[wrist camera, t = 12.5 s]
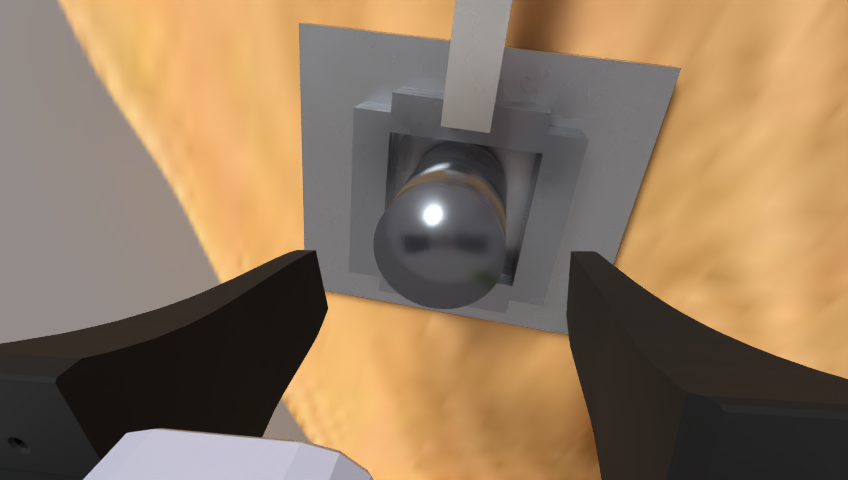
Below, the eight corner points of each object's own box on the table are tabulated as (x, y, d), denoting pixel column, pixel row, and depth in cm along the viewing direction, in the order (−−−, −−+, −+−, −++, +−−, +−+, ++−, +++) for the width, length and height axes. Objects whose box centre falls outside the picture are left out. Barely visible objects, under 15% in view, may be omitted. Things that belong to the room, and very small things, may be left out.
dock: (671, 66, 16) (702, 72, 13) (583, 325, 21) (594, 364, 19) (309, 23, 17) (277, 22, 15) (313, 276, 23) (289, 307, 20)
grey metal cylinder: (503, 137, 17) (501, 183, 12) (509, 230, 19) (509, 308, 13) (405, 147, 18) (361, 194, 13) (419, 234, 20) (385, 310, 14)
